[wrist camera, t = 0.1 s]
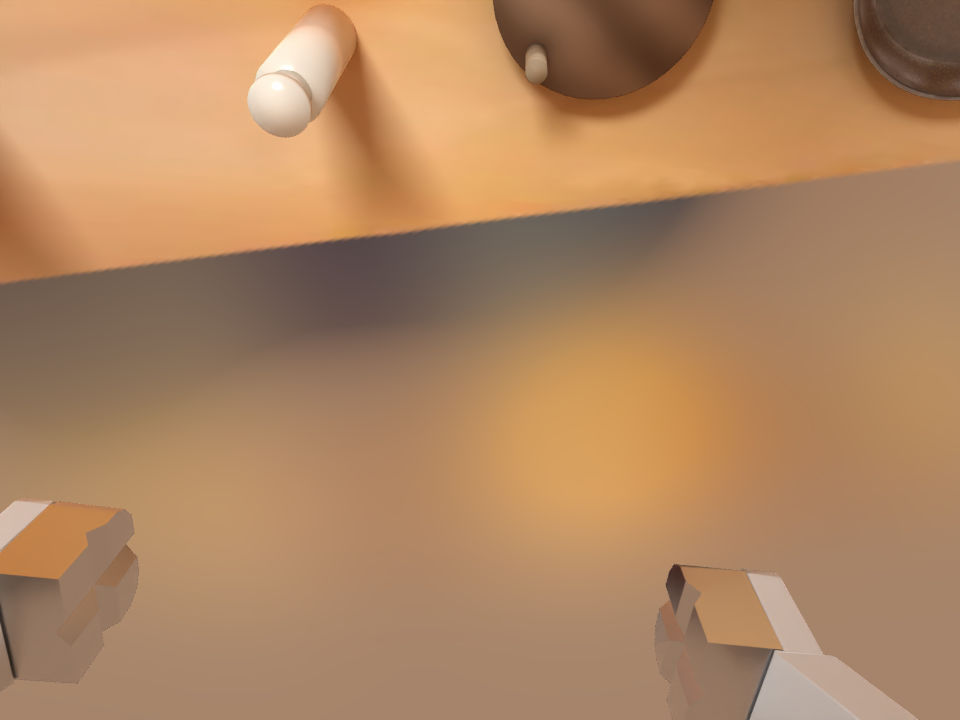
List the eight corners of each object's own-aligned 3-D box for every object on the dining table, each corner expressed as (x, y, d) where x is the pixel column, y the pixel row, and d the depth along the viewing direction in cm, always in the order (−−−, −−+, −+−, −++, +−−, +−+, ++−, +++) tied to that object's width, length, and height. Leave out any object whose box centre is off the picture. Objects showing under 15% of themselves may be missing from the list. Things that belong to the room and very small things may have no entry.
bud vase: (322, -10, 53) (268, 54, 42) (368, 36, 55) (328, 108, 44) (288, 35, 55) (229, 106, 44) (334, 77, 57) (288, 155, 46)
